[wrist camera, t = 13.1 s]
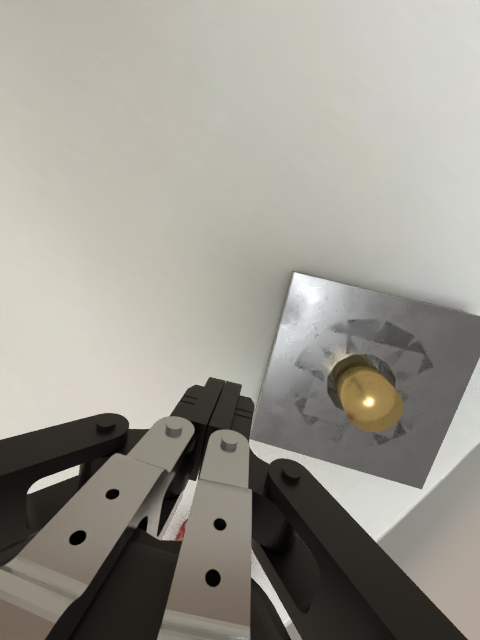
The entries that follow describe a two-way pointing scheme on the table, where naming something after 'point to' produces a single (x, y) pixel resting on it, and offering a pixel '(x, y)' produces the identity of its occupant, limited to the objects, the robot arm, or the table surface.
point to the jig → (395, 365)
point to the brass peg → (366, 394)
